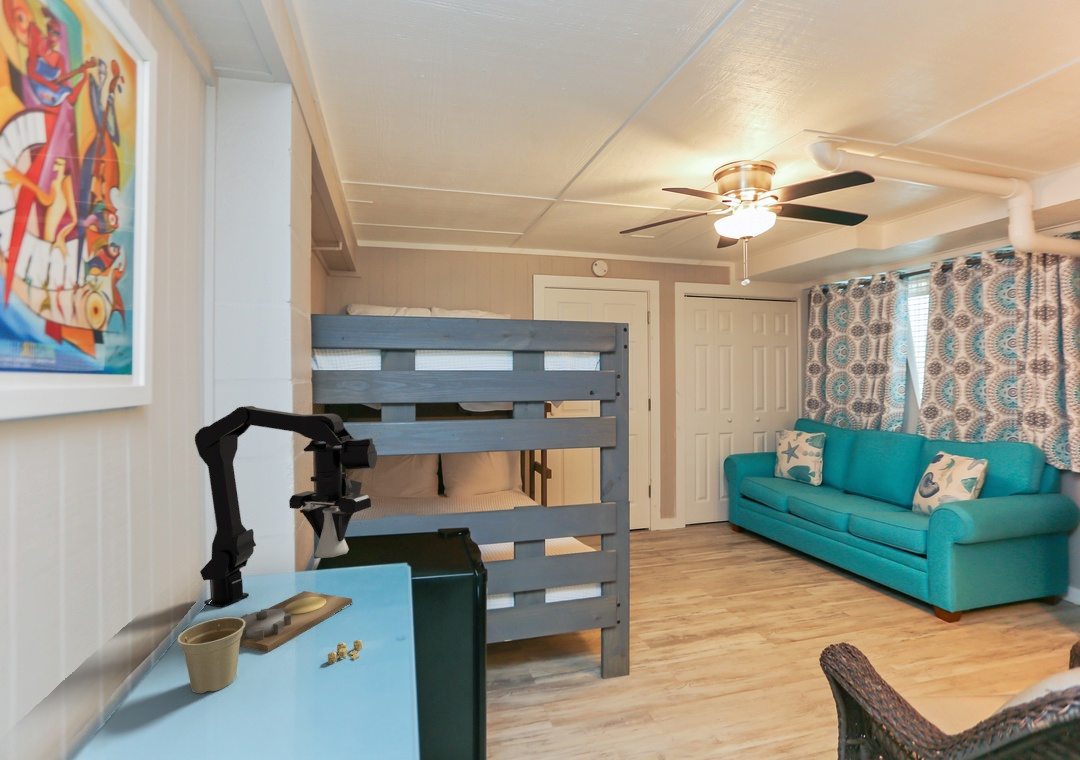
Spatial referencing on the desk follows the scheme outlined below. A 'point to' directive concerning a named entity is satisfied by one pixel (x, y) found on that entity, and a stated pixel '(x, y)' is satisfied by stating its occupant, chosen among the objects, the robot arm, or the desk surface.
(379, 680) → the desk surface
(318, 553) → the flask
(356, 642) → the dice set
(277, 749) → the desk surface
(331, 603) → the gear board
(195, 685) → the flower pot
